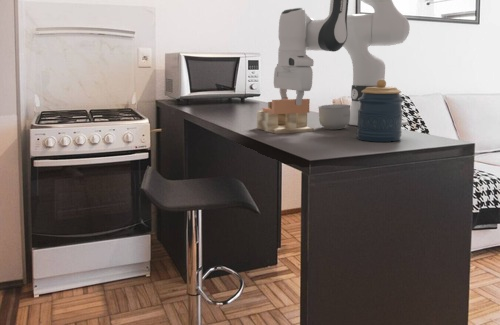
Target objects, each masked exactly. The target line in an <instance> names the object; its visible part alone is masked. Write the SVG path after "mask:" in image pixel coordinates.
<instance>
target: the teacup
mask: <svg viewBox="0 0 500 325" xmlns="http://www.w3.org/2000/svg"><path fill="white" fill-rule="evenodd" d="M317 109H318V119H319V120H318V121H319V123H320V125H321V126H322V127H324V128H323V129H326V130H341V129H344V128H346V127H347V126H348V125H350V124H349V121H350V109H351V104H344V103H343V104H324V105H319V106H318V108H317Z"/></svg>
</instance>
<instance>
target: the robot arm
mask: <svg viewBox="0 0 500 325" xmlns="http://www.w3.org/2000/svg"><path fill="white" fill-rule="evenodd" d="M360 1H361V2H363V3H364V4H367V5H369V6H370V7H371V8H372V9H373V10H374V12H372V13H351V14H348V11H349V3H350V2H349V0H330V3H329V11H328V12H329V13H328V16H327V17H326V18H325V19H314V18H312V17H310V16H309V15H308V14H307V13H306V10H305V8H303V7H296V8H289V9H285V10H283V11H282V12H281V14H280V15H279V16H280V17H279V21H278V41H279V47H278V51H277V53H278V54H277V55H278V57H277V60H278V61H277V64H276V66H275V68H274V73H273V87H274V88H275V89H279V95H280V97H281V98H280V100H283V99H289V97H288V95H287V94H288V93H287V92H288V91H295V93H296V98H294V99H295V105H301V104H302V99H304V95H305V92H310V91H311V90H312V88H313V78H314V77H313V76H314V74H313V68H312V67H313V66H314V63H315V62H314V59H313V58H311V57H310V56H309V55H307V51H325V52H335V53H336V52H338V51H339V50H340V49H342V47H343V48H344V49H345V50H346V52H347V53H348V55H349V57H350V60H351V63H352V85H351V91H350V97H351V104H350V121H349V124H348V125H350V126H356V127H357V126H358V109H359V106H360V102H359V100H358V99H359V98H360V97H362V95H363V93H362V92H361V91H362V90H364V89H365V88H366V87H377V82H378V80H380V79H383V80H385V77H386V64H385V62H384V60H383V59H382V58H380V57H379V56H377V55H375V54H372V53H371V52H369V50H368V48H369V47H372V46H373V47H375V46H376V47H378V46H380V47H383V46H395V45H399V44H400V45H401V44H403V43H404V42H405V41H406V40H407V38H408V37H409V35H410V23H409V20H408V18H407V17H406V16H405V15H404V14H403V13H401V12H400V11H399V10H398V9H397V7H396V6H395V4H394V2H393V0H360ZM385 81H386V80H385ZM403 125H404V126H405V125H409V121H408V120H404V119H402V124H401V126H403Z"/></svg>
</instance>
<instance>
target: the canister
mask: <svg viewBox="0 0 500 325" xmlns="http://www.w3.org/2000/svg"><path fill="white" fill-rule="evenodd" d="M361 92H362V93H363V95H362V97H360V98H359V99H358V100H359V102H360V106H359V109H358V126H357V125H356V127H357V128H356V138H357V139H358V140H362V141H366V142H375V143H376V142H377V143H391V141H393V142H398V141H400V140H401V136H402V125H401V124H402V120H403V112H404V111H403V110H402V103H403V102H404V99H403V98H402V97H401V96H400V94H401V93H402V91H401V90H400V89H398V88H397V87H396V86H387V82H386V80H383V79H380V80H378V82H377V87H366V88H365V89H364V90H362V91H361Z"/></svg>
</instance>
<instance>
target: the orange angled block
mask: <svg viewBox="0 0 500 325" xmlns="http://www.w3.org/2000/svg"><path fill="white" fill-rule="evenodd" d="M295 99H296V98H292V99H289V98H288V99H283V100H281V99H271V102H272V109H269V108H268V107H262V111H263V112H268V113H272V114H291V113H307V114H309V113H310V98H302V104H301V105H295Z"/></svg>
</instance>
